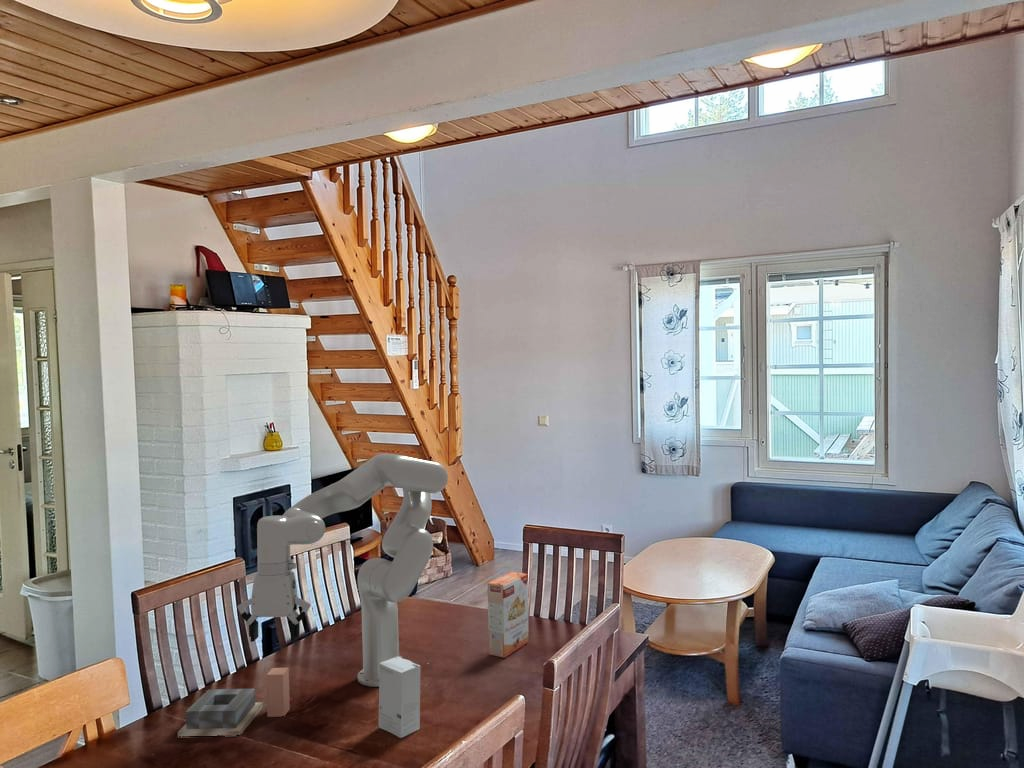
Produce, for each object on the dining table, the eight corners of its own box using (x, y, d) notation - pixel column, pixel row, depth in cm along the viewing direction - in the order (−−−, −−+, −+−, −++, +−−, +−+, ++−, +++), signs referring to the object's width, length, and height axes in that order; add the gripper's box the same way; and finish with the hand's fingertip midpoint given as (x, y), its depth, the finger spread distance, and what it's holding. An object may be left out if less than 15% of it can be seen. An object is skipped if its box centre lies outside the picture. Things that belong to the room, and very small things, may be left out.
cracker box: (505, 659, 195) (503, 585, 195) (487, 655, 198) (485, 582, 199) (530, 642, 207) (528, 573, 207) (513, 639, 210) (511, 570, 210)
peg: (289, 708, 169) (288, 667, 169) (284, 716, 165) (282, 674, 165) (273, 709, 169) (272, 667, 169) (267, 716, 165) (266, 674, 165)
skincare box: (378, 728, 158) (376, 663, 158) (398, 718, 162) (396, 654, 162) (402, 739, 152) (400, 672, 152) (422, 728, 157) (421, 663, 157)
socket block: (262, 707, 170) (262, 686, 170) (239, 736, 156) (238, 713, 156) (206, 708, 170) (205, 687, 170) (177, 737, 156) (177, 714, 156)
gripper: (314, 564, 170) (314, 634, 170) (244, 564, 171) (245, 634, 170) (304, 571, 163) (305, 645, 163) (231, 572, 163) (232, 645, 163)
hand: (274, 639), depth 166 cm, fingers open, 9 cm apart
